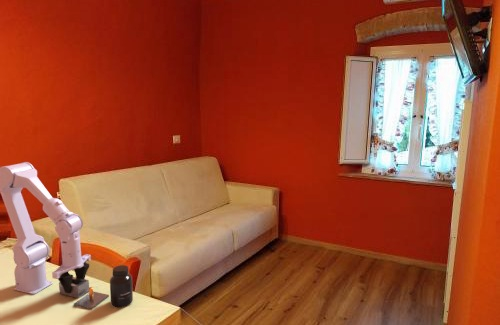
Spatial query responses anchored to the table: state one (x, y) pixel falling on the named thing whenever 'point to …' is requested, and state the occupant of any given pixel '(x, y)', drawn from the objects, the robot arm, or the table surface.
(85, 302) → the keeper
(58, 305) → the table surface
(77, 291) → the hollow rectangular frame
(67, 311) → the table surface
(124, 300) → the supplement bottle
